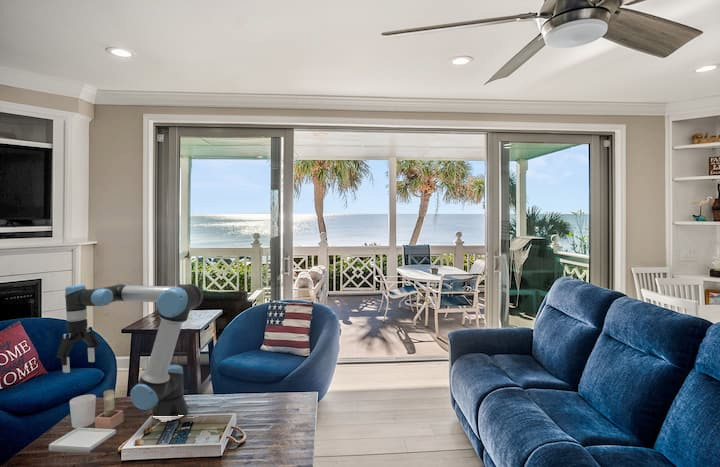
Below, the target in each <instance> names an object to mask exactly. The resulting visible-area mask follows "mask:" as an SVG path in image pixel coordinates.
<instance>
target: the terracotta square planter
mask: <svg viewBox="0 0 720 467" xmlns="http://www.w3.org/2000/svg"><path fill="white" fill-rule="evenodd" d="M124 418H125V417H124V410H118V409H115V415H114V416H112V417H104V412H102V413H100V414H99V415H97V416H95V421H94V428H98V429H115V428H116V427H118V426H119V425H121V424H122V423H124Z"/></svg>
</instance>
